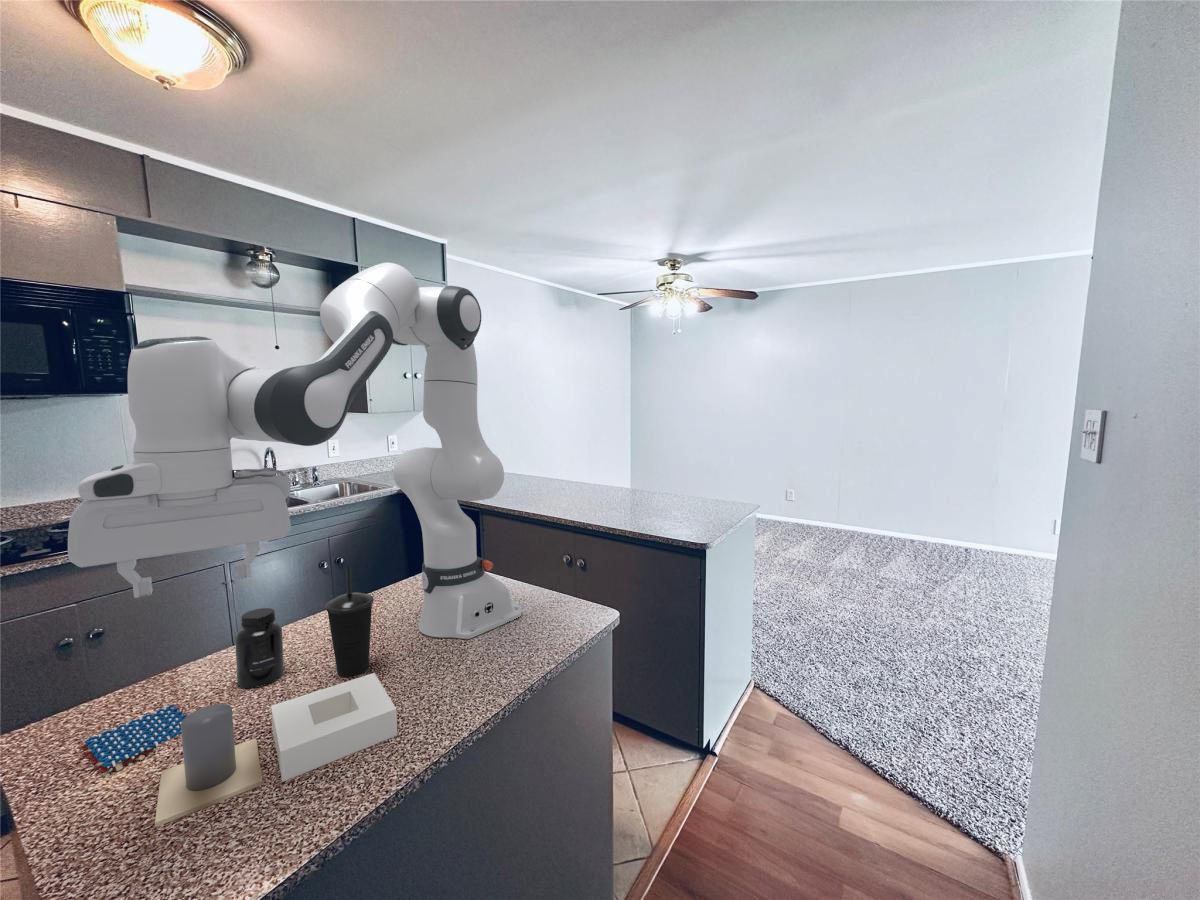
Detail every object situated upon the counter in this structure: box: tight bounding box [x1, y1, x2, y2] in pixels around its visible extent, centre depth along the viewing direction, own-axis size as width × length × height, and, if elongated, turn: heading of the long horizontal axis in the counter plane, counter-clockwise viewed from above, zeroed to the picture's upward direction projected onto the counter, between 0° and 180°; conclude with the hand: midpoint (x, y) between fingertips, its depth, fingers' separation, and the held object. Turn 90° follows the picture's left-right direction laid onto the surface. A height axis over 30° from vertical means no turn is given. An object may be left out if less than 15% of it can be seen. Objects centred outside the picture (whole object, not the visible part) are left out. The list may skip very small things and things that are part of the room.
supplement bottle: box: [234, 607, 285, 689], centre depth 86 cm, size 7×7×12 cm
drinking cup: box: [324, 565, 375, 678], centre depth 87 cm, size 8×8×20 cm
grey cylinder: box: [181, 703, 236, 791], centre depth 62 cm, size 5×5×8 cm
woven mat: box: [80, 703, 188, 778], centre depth 70 cm, size 10×11×2 cm
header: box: [270, 672, 398, 782], centre depth 71 cm, size 14×12×5 cm
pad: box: [154, 737, 263, 828], centre depth 62 cm, size 10×10×2 cm
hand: (196, 585), depth 60 cm, fingers open, 8 cm apart
